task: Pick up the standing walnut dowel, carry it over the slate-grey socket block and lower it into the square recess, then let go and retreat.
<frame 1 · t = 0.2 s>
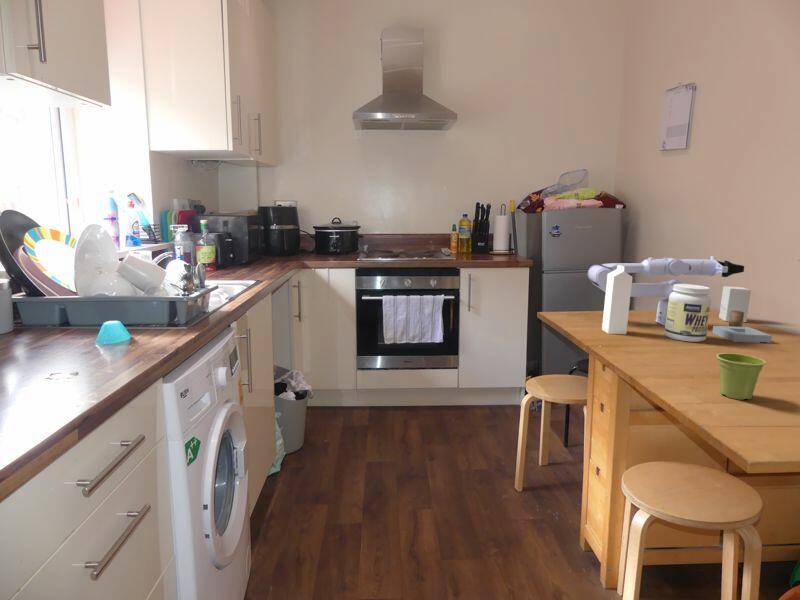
hand: (736, 267, 199), 21 cm above the table, tool horizontal, fingers open, 7 cm apart
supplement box: (732, 321, 215), on the table
socket block: (740, 338, 185), on the table
plant pot: (735, 396, 127), on the table
dowel: (734, 331, 195), on the table
milk: (613, 332, 187), on the table
supplement tub: (684, 338, 182), on the table
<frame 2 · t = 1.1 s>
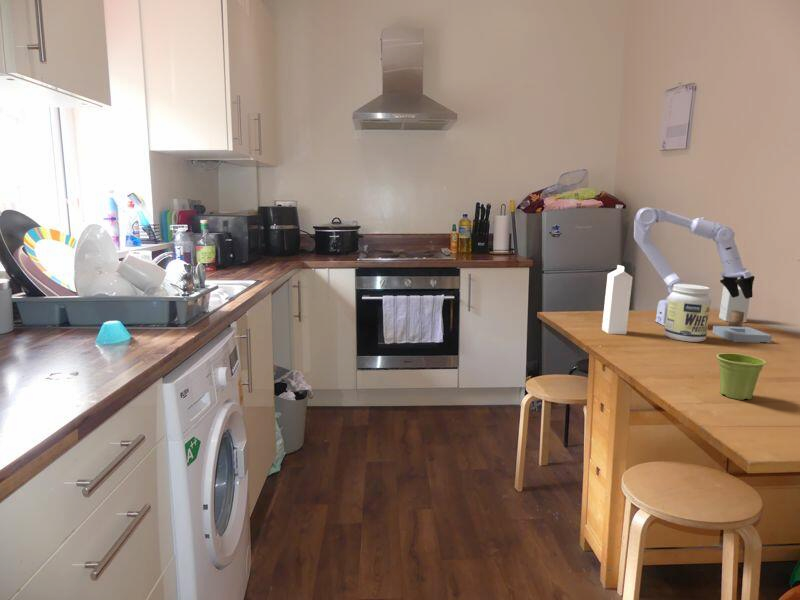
hand: (742, 297, 195), 12 cm above the table, tool tilted 20°, fingers open, 7 cm apart
nothing on the table moved.
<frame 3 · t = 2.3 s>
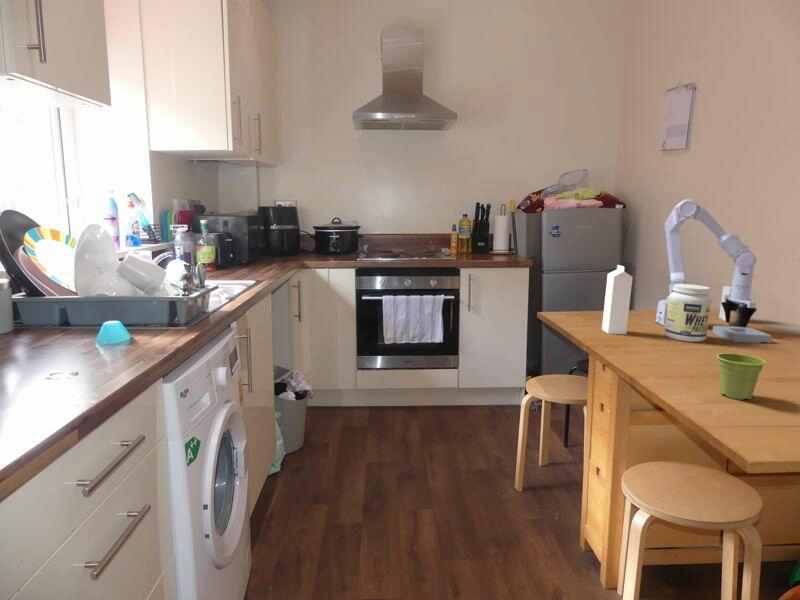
hand: (735, 324, 195), 2 cm above the table, tool pointing down, fingers open, 7 cm apart
nothing on the table moved.
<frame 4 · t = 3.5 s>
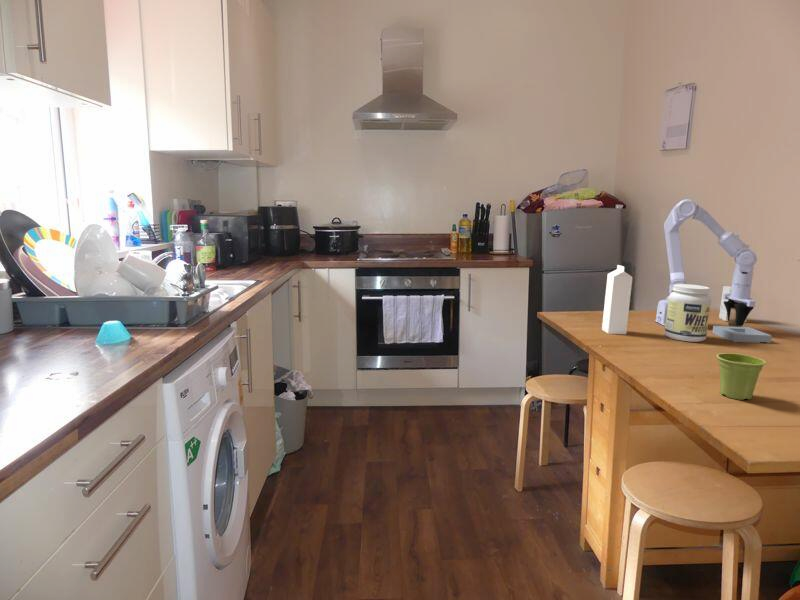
hand: (735, 323, 195), 3 cm above the table, tool pointing down, fingers closed on dowel, 4 cm apart
dowel: (734, 329, 195), point 1 cm above the table, touching gripper
everything else where it was.
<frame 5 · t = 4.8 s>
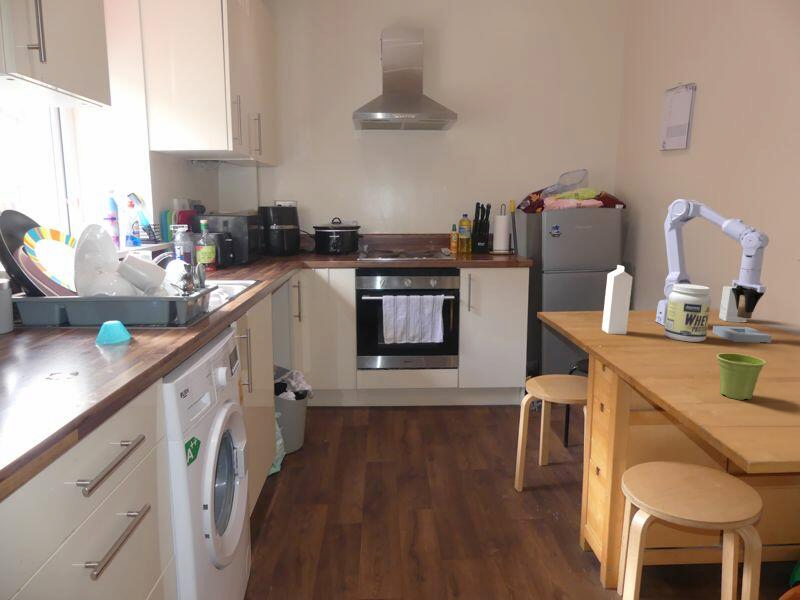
hand: (744, 311, 184), 9 cm above the table, tool pointing down, fingers closed on dowel, 4 cm apart
dowel: (744, 317, 184), point 7 cm above the table, touching gripper
everything else where it was.
when the fingers open (3 cm above the table, at t = 6.5 s): dowel drops 1 cm, resting in socket block.
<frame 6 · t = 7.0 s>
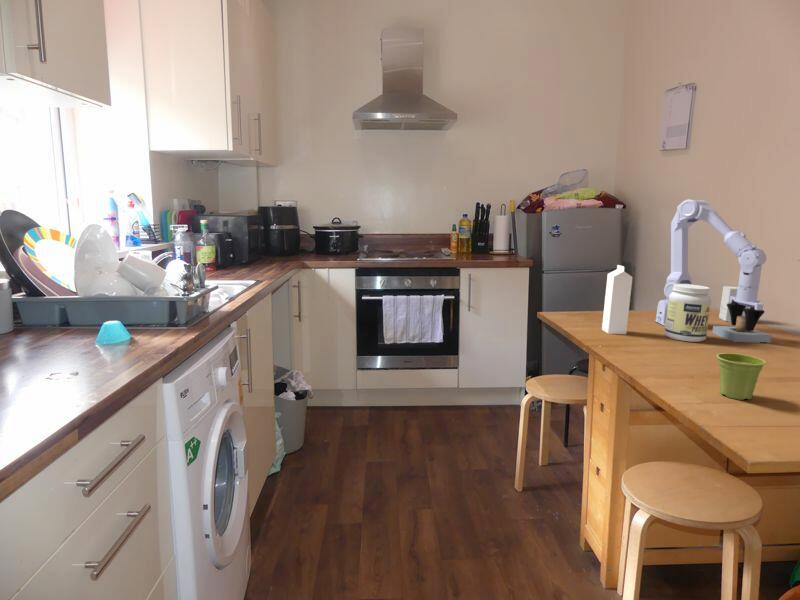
hand: (742, 327, 185), 3 cm above the table, tool pointing down, fingers open, 7 cm apart
dowel: (741, 338, 185), resting in socket block
everything else where it was.
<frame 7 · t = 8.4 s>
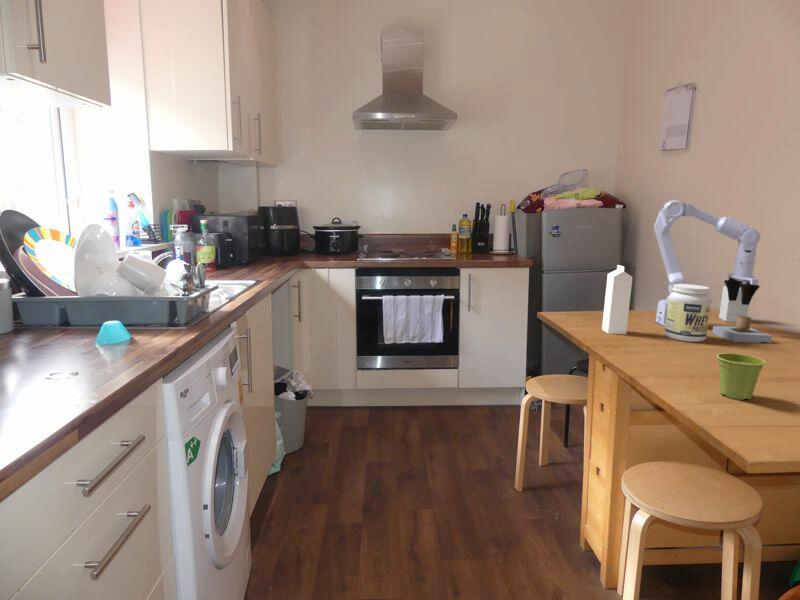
hand: (738, 302, 195), 10 cm above the table, tool pointing down, fingers open, 7 cm apart
nothing on the table moved.
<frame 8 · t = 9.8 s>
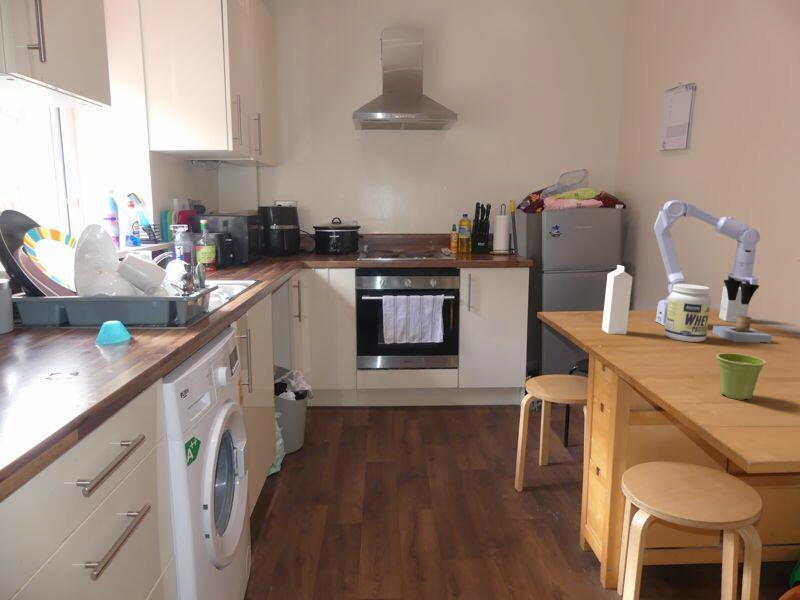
hand: (738, 302, 195), 10 cm above the table, tool pointing down, fingers open, 7 cm apart
nothing on the table moved.
at the end: dowel 0.1 cm from the socket block (horizontally); dowel resting in socket block; dowel tilted 0° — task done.
